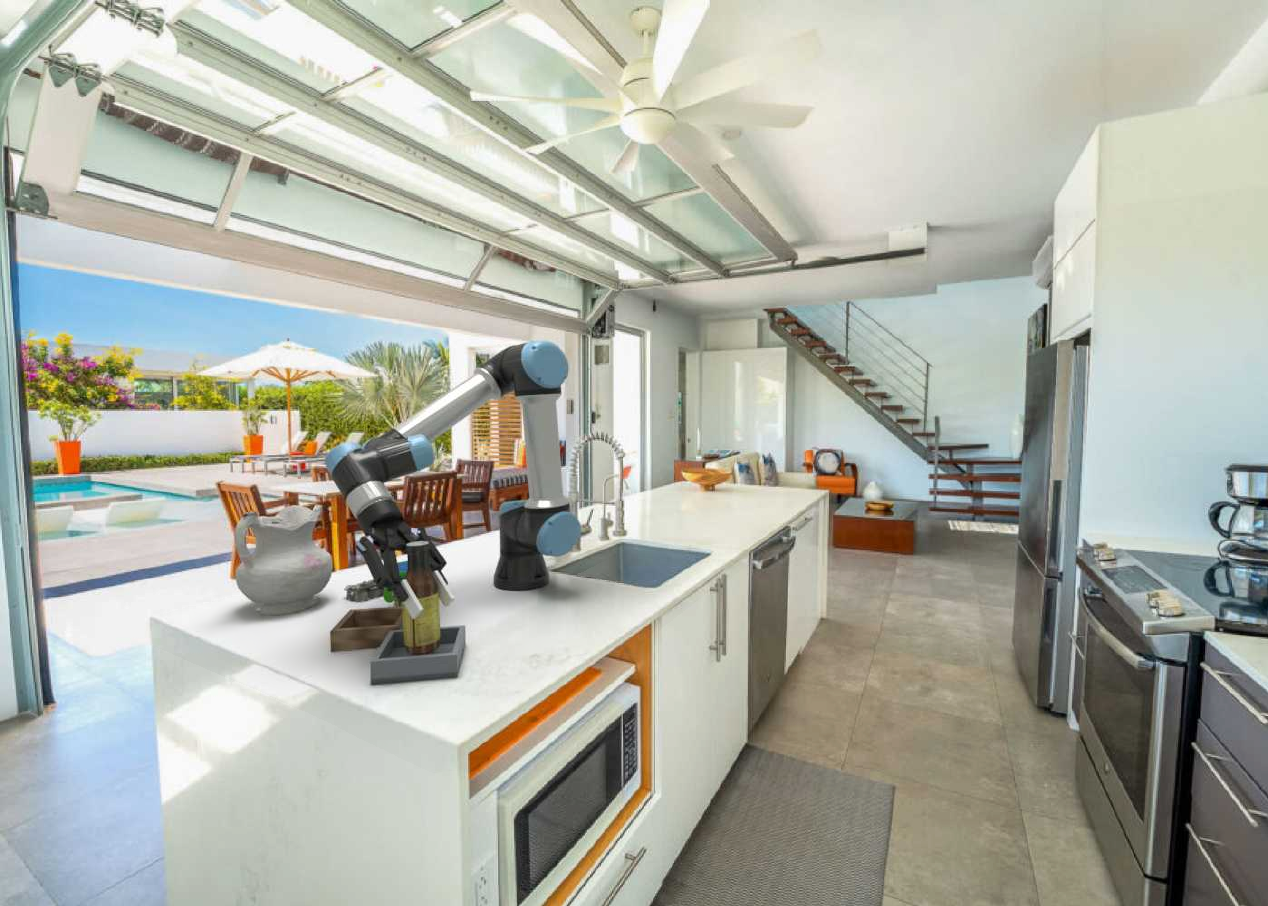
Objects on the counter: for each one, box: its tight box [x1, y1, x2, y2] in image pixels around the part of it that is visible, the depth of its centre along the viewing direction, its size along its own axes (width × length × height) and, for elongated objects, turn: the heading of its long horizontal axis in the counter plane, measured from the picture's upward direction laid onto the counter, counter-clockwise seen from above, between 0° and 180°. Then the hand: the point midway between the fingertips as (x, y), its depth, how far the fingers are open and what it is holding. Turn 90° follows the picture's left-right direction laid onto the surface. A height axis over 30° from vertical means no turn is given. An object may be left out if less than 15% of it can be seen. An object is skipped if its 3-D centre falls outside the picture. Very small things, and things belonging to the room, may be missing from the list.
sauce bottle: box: [402, 541, 441, 655], centre depth 98 cm, size 7×6×20 cm
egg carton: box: [343, 578, 385, 603], centre depth 138 cm, size 10×7×4 cm
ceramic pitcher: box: [233, 503, 334, 617], centre depth 127 cm, size 22×20×25 cm
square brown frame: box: [329, 606, 404, 652], centre depth 111 cm, size 12×12×4 cm
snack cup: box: [382, 560, 433, 607], centre depth 129 cm, size 16×10×10 cm
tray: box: [369, 624, 467, 686], centre depth 99 cm, size 14×14×4 cm
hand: (434, 608), depth 97 cm, fingers closed on sauce bottle, 6 cm apart
